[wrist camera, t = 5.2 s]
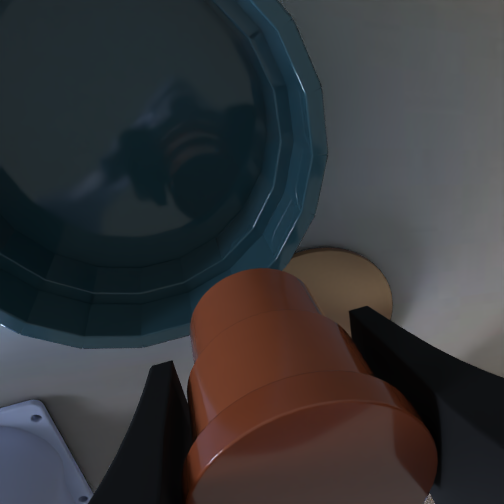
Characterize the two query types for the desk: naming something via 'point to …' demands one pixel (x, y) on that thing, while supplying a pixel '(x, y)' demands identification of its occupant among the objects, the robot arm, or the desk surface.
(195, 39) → the bowl
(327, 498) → the flower pot
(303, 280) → the coaster
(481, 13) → the desk surface
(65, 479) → the robot arm
